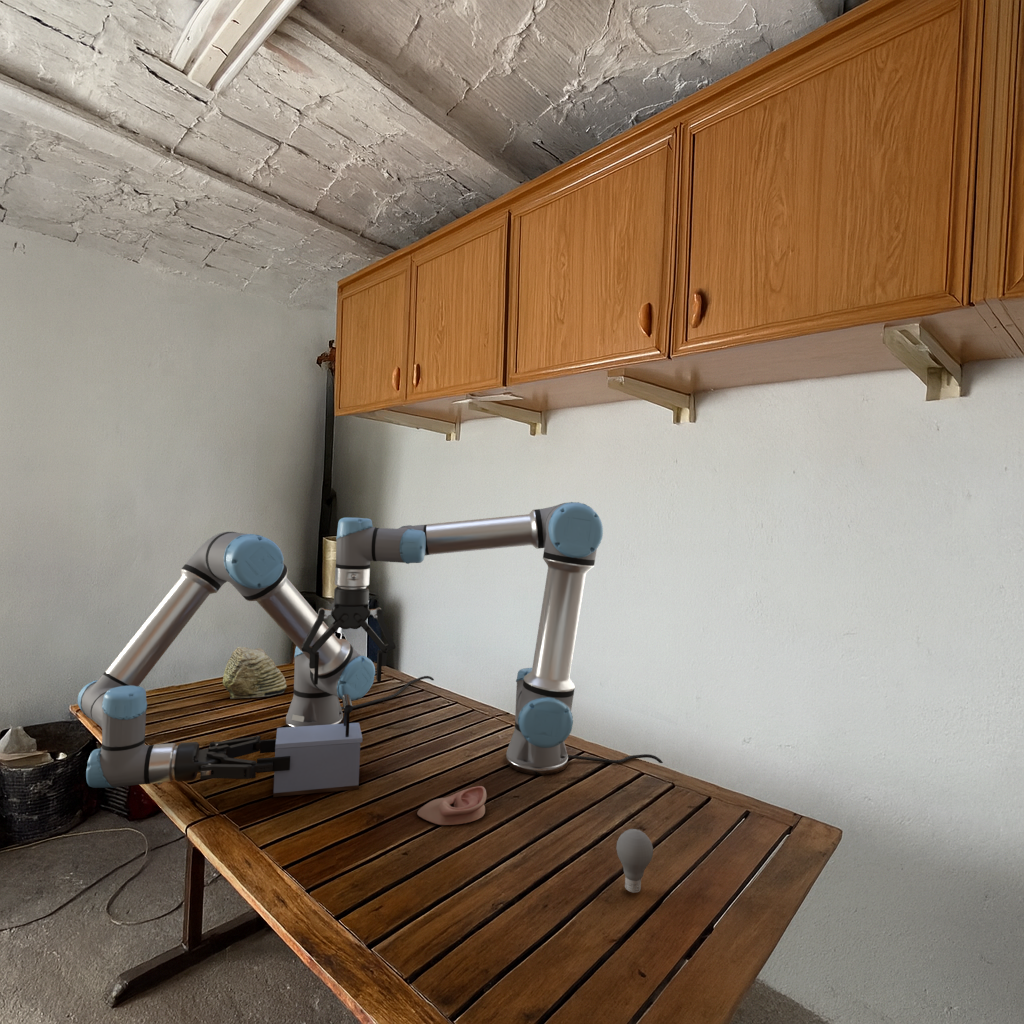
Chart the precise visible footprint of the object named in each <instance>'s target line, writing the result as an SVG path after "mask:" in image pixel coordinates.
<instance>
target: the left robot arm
mask: <svg viewBox="0 0 1024 1024" xmlns="http://www.w3.org/2000/svg"><path fill="white" fill-rule="evenodd" d="M284 561H285V559H284V554H283V551H282V550H281V548H280V546H279V545H278V544H277V543H275V542H274V541H273V540H272V539H270V538H268V537H265V536H264V535H260V534H256V533H255V534H254V533H242V532H237V531H222V532H219V533H217V534H214V535H212V536H211V537H209V538H208V539H207V540H206V541H204V543H202V544H201V545H200V546H199V547H198V548H197V549H196V550H195V552H194V553H193V554H192V555H191V556H190V557H189V558H188V559H187V561H186V562H185V564H184V565H183V566H182V567H181V568H180V570H179V571H180V577H179V579H178V580H177V581H176V582H175V583H174V585H173V586H172V588H170V590H169V591H168V593H166V594H165V596H164V597H163V598H162V600H161V601H160V602H159V604H158V605H157V606H156V607H155V608H154V610H153V611H152V612H151V614H150V615H149V616H148V617H147V618H146V620H145V621H144V622H143V623H142V625H141V626H140V627H139V629H137V631H136V632H135V634H134V635H133V636H132V637H131V638H130V640H129V641H128V642H127V643H126V644H125V646H124V647H123V648H122V650H121V651H120V652H119V653H118V654H117V656H116V657H115V659H114V660H113V661H112V662H111V664H110V665H109V666H108V667H107V668H106V670H105V671H104V672H103V673H102V675H101V676H100V677H99V678H98V679H95V680H93V681H91V682H88V683H87V684H86V685H84V686H83V687H82V688H81V690H80V691H79V693H78V696H77V705H78V708H79V709H80V710H81V712H82V714H83V715H84V716H86V718H88V719H90V720H91V721H93V722H94V723H95V724H97V725H98V726H99V727H100V728H101V747H100V748H95V749H93V750H92V751H91V752H90V755H89V757H88V760H87V762H86V763H87V766H86V771H85V778H86V780H85V781H86V783H87V785H88V787H90V788H93V789H100V788H101V789H103V788H104V789H105V788H106V789H107V788H111V789H115V788H121V787H130V786H139V785H140V786H141V785H151V784H152V785H153V784H157V785H158V786H161V785H162V784H164V783H171V782H173V781H174V780H175V782H179V783H180V782H189V781H194V780H195V779H197V776H198V774H199V778H200V780H210V779H221V780H223V779H227V780H228V779H230V780H231V779H233V780H251V779H252V780H253V779H255V778H256V776H257V774H261V773H272V772H273V773H274V771H286V770H290V756H285V757H275V756H273V757H271V756H270V757H261V758H256V760H251V759H245V758H243V759H242V758H240V757H244V756H247V755H250V754H254V753H258V752H259V754H270V753H275V744H276V738H270V739H261V736H260V735H256V736H255V735H254V736H249V737H242V738H237V739H229V740H223V741H211V742H209V747H207V748H202V749H201V748H200V744H199V742H198V741H190V742H180V743H179V744H178V745H177V743H175V742H171V743H160V744H159V743H158V744H146V724H147V723H146V722H147V709H148V702H147V691H146V688H144V687H142V686H140V685H141V684H142V683H143V681H144V680H145V679H146V678H147V676H148V675H149V673H150V672H151V671H152V670H153V668H154V667H155V665H156V664H157V663H158V662H159V660H160V659H161V658H162V657H163V655H165V652H166V651H167V650H168V649H169V647H170V646H171V645H172V644H173V642H174V641H175V640H176V639H177V637H178V636H179V635H180V633H181V632H182V631H183V630H184V628H185V627H186V626H187V625H188V623H189V622H190V620H191V619H192V618H193V617H194V615H195V614H196V613H197V612H198V610H199V609H200V607H202V605H203V604H204V602H205V601H206V600H207V599H208V597H209V596H210V595H212V594H217V593H218V591H220V590H221V588H222V586H223V585H224V584H226V583H227V582H228V583H230V584H231V585H232V586H233V587H234V589H235V590H236V591H237V592H238V593H239V594H240V595H241V596H242V597H243V598H244V600H245V601H247V602H256V603H257V604H258V605H259V606H260V607H261V608H262V609H263V610H264V611H265V612H266V614H267V615H268V616H269V617H270V618H271V620H272V621H273V622H275V624H276V625H277V626H278V627H279V628H280V629H281V631H283V633H284V634H285V635H286V636H287V637H288V638H289V639H290V641H291V642H292V643H293V644H294V645H295V650H294V655H293V657H294V672H293V673H294V674H293V695H292V696H293V697H292V699H291V702H290V704H289V708H288V711H287V713H286V715H285V727H299V726H315V725H331V724H343V723H344V708H343V706H341V702H340V700H342V696H343V695H344V694H349V695H350V697H351V702H353V701H354V702H355V701H358V700H360V699H362V698H363V697H364V696H366V695H367V693H368V692H369V691H370V690H371V689H372V686H373V684H374V681H375V677H376V667H375V663H374V662H373V661H372V660H371V658H369V657H367V656H365V655H361V654H360V653H359V652H358V651H357V650H356V648H354V646H353V645H352V644H351V643H350V641H349V640H347V639H345V638H338V637H337V636H336V634H335V632H334V633H333V634H332V636H331V637H330V638H329V639H328V640H327V641H326V642H325V643H324V644H323V645H322V646H321V648H320V649H319V650H318V651H317V652H319V667H318V685H314V669H315V668H314V669H310V667H309V660H310V654H309V653H307V652H303V651H302V649H301V648H302V644H303V642H304V641H305V639H306V637H307V635H308V634H309V632H310V630H311V628H312V627H313V625H314V623H315V621H316V619H317V618H318V612H317V611H315V609H314V608H313V607H312V605H311V604H310V603H309V602H308V601H307V600H306V599H305V598H304V596H303V595H302V594H301V593H300V591H299V590H298V589H297V588H296V587H295V585H294V584H293V583H292V582H291V581H290V579H289V578H288V574H289V568H288V567H287V566H286V564H285V563H284ZM329 627H330V626H328V625H327V623H325V621H324V620H323V622H322V624H321V626H320V628H319V630H318V631H317V633H316V635H315V637H314V639H313V640H312V642H311V644H310V646H313V644H314V643H315V642H316V641H317V640H318V639H319V638H320V637H321V636H322V635H323V634H324V632H325V631H326V630H327V629H328V628H329ZM425 679H429V680H430V681H435V679H434V677H432V676H430V675H424V676H420V677H418V678H415V679H413V680H410V681H408V682H407V683H406V684H404V686H402V687H401V688H400V689H399V690H398V691H396V692H395V693H393V694H390V695H388V696H384V697H381V698H377V699H373V700H369V701H366V702H362V703H359V704H353V705H352V707H353V710H354V709H357V708H361V707H365V706H369V705H373V704H376V703H380V702H384V701H387V700H390V699H393V698H395V697H397V696H398V695H400V694H401V693H402V692H403V691H404V690H406V689H407V688H408V687H409V686H410V685H411V684H414V683H416V682H420V681H422V680H425Z"/></svg>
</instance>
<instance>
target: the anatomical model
mask: <svg viewBox="0 0 1024 1024" xmlns="http://www.w3.org/2000/svg"><path fill="white" fill-rule="evenodd" d="M487 796H488V795H487V789H486V788H485V787H484V786H482V785H477V786H473V787H469V788H466V789H463V790H460V791H457V792H456V793H454V794H451V795H448V796H446V797H440V798H436V799H433V800H430V801H429V802H427V803H426V804H424V805H423V806H421V807H420V808H419V809H418V811H416V812H417V816H418V817H419V818H421V819H423V820H425V821H427V822H429V823H432V824H435V825H439V826H454V825H462V824H468V823H471V822H475V821H477V820H479V819H481V818H483V817H484V815H485V813H486V806H485V803H486V802H487Z"/></svg>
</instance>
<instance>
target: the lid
mask: <svg viewBox="0 0 1024 1024" xmlns="http://www.w3.org/2000/svg"><path fill="white" fill-rule="evenodd" d="M341 702H342V707H343V708H344V710H343V723H341V724H331V725H315V726H299V727H287V726H284V727H276V736H275V739H276V744H275V749H278V748H291V747H305V746H319V745H332V744H346V743H359V742H360V743H363V734H362V730H361V725H360V722H350V715H351V713H352V712H353V711H354V709H353V707H352V706H353V703H352V702H353V701H351V697H350V695H349V694H344V695H343V696H342V699H341Z"/></svg>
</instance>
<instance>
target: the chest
mask: <svg viewBox="0 0 1024 1024" xmlns="http://www.w3.org/2000/svg"><path fill="white" fill-rule="evenodd" d="M285 756H290V770H286V771H274V772H273V775H274V776H273V795H272V797H273V798H279V797H288V796H299V795H309V794H320V793H321V794H322V793H330V792H331V793H332V792H341V791H351V790H359V789H360V788H359V787H360V785H359V783H360V764H361V763H360V762H361V760H360V759H361V742H359V743H346V744H332V745H319V746H305V747H291V748H278V749H275V752H274V757H285Z"/></svg>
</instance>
